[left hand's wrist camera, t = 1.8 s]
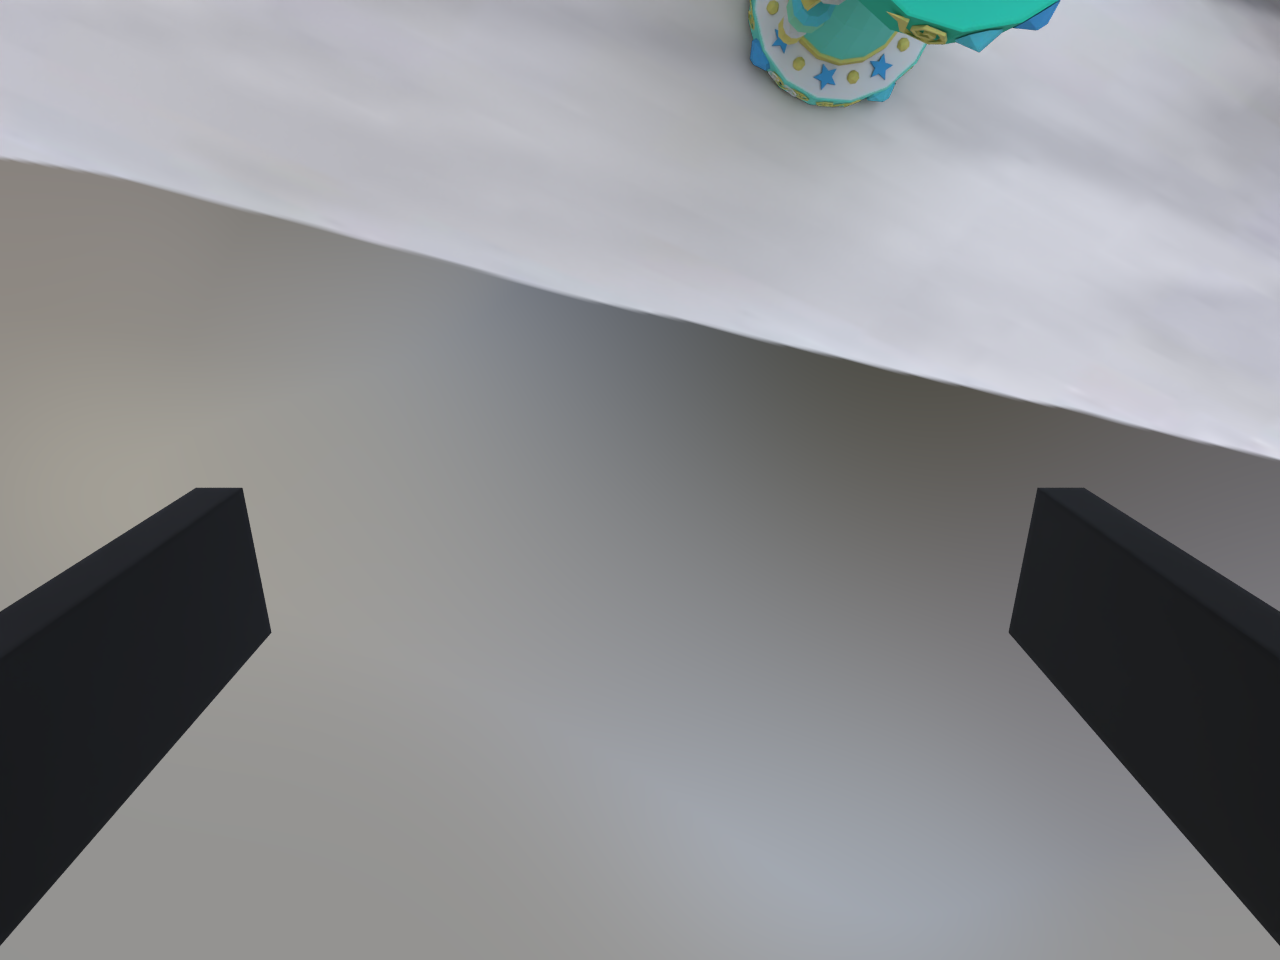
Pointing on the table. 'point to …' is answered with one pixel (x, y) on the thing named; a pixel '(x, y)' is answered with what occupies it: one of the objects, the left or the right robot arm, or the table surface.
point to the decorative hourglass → (871, 40)
